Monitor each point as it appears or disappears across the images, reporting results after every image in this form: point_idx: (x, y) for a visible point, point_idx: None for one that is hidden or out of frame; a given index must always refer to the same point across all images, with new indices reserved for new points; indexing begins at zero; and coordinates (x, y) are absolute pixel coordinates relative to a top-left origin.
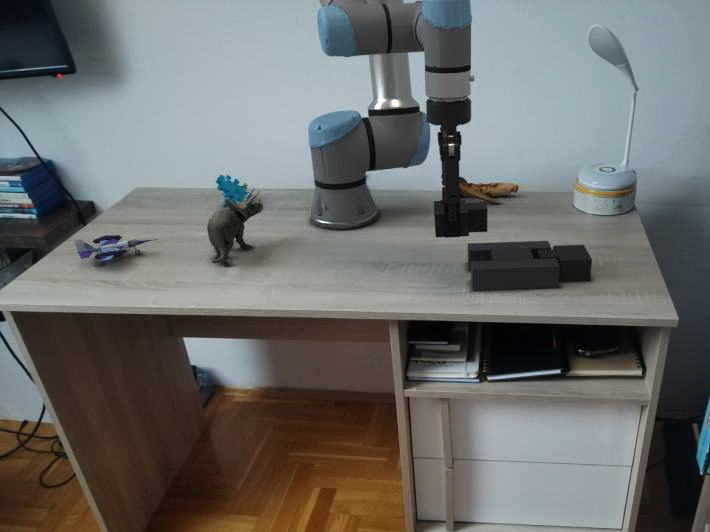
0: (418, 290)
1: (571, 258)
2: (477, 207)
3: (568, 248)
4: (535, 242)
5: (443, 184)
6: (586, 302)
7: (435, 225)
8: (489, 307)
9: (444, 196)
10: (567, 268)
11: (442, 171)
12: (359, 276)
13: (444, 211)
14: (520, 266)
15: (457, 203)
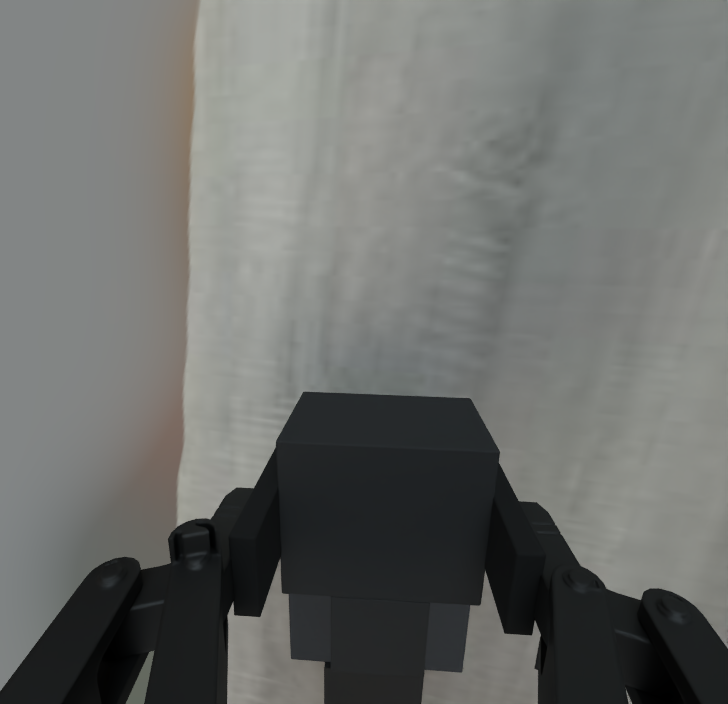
0: (314, 282)
1: (334, 692)
2: (353, 638)
3: (398, 701)
4: (453, 642)
5: (551, 579)
6: (233, 635)
7: (292, 414)
8: (212, 451)
9: (497, 525)
10: None
11: (593, 679)
12: (437, 78)
13: (250, 499)
14: None
15: (235, 597)
